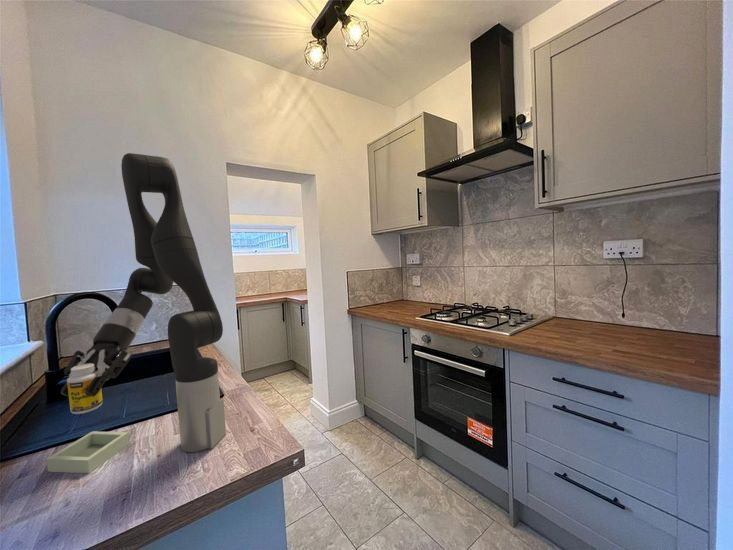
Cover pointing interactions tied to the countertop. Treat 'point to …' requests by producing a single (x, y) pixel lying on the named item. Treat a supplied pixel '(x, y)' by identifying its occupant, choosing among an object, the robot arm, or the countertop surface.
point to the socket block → (88, 452)
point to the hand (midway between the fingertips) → (77, 394)
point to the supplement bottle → (82, 389)
